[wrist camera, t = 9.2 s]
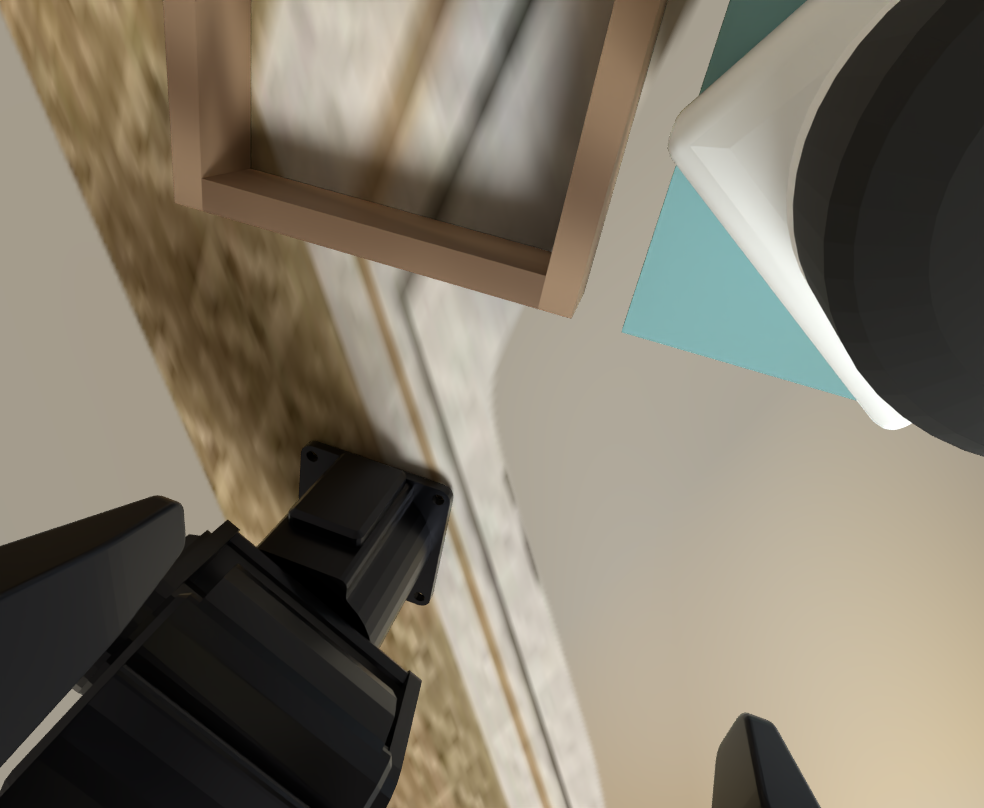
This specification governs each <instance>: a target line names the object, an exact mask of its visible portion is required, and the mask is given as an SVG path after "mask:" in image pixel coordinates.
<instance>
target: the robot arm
mask: <svg viewBox="0 0 984 808" xmlns="http://www.w3.org/2000/svg"><path fill="white" fill-rule="evenodd" d="M312 451H313V452H314V453H316V454H317V456H318V457H317V456H315V455H314V454H313V453H312ZM436 495H440V496H442V497H443V499H444V500H442V499H439V498H438V497H437V496H436ZM452 502H453V493H452V491H451V490H450V489H449V488H448V487H447V486H445V485H443V484H440V483H437V482H434V481H432V480H429V479H426V478H423V477H420V476H417V475H414V474H411V473H408V472H405V471H402V470H399V469H396V468H394V467H391V466H388V465H385V464H382V463H379V462H376V461H373V460H370V459H367V458H364V457H361V456H358V455H356V454H353V453H350V452H347V451H344V450H341V449H338V448H335V447H332V446H329V445H326V444H323V443H320V442H317V441H312V442H309V443H308V444H307V445H306V446H305V447H304V448H303V449H302V452H301V466H300V485H299V500H298V501H297V502H296V503H295V504H294V505H293V506H292V508H291V509H290V510H289V513H288V514H287V515H286V516H285V517H284V518H283V519H282V520H281V521H280V522H279V523H278V524H277V525H276V527H275V528H274V529H273V530H272V531H271V532H270V533H269V534H268V535H267V536H266V537H265V538H264V539H263V541H262V542H261V543H260V544H259V545H258V546H257V547H256V546H254V545H253V544H252V543H251V542H250V541H248V540H247V539H246V538H245V537H244V536H242V535H241V534H240V533H239V531H240V529H238V528H237V527H236V526H235V525H234V524H232V523H231V522H230V521H229V520H227V521H225V522H224V523H223V524H222V525H221V526H220V527H218V528H217V529H216V530H215V531H214V532H213V533H210V532H209V531H208V530H207V531H206V532H204V533H203V534H202V535H201V536H198V535H188V536H186V537H185V524H184V523H185V522H184V510H183V507H182V505H181V503H179V502H177V501H174V500H172V499H169V498H166V497H163V496H158V495H157V496H152V497H148V498H146V499H143V500H139V501H136V502H133V503H130V504H127V505H124V506H121V507H118V508H115V509H112V510H109V511H106V512H103V513H100V514H97V515H94V516H91V517H87V518H85V519H81V520H78V521H75V522H72V523H69V524H66V525H63V526H60V527H57V528H54V529H51V530H48V531H45V532H42V533H39V534H35V535H33V536H30V537H26V538H24V539H20V540H17V541H14V542H11V543H8V544H5V545H2V546H0V767H1V766H2V765H3V764H4V763H5V762H6V760H7V759H8V758H9V757H10V756H11V755H12V754H13V753H14V752H15V751H16V750H17V748H18V747H19V746H20V745H21V744H22V743H23V742H24V741H25V740H26V739H27V737H28V736H29V735H30V734H31V733H32V732H33V731H34V730H35V728H37V726H38V725H39V724H40V723H41V722H42V721H43V720H44V718H45V717H46V716H47V715H48V714H49V713H50V712H51V711H52V710H53V709H54V708H55V706H56V705H57V704H58V703H59V702H60V701H61V700H62V699H63V698H64V697H65V695H66V694H67V693H68V692H69V691H70V690H71V689H74V690H75V691H76V692H78V693H80V694H82V695H83V696H82V697H81V698H80V699H79V700H78V701H77V702H76V703H75V704H74V705H73V706H72V708H70V710H69V711H68V712H67V713H66V714H65V715H64V716H63V717H62V718H61V719H60V720H59V721H58V722H57V723H56V724H55V726H54V727H53V728H52V729H51V730H50V731H49V732H48V733H47V734H46V735H45V736H44V737H43V739H41V741H40V742H39V743H38V744H37V745H36V746H35V747H34V748H33V749H32V750H31V751H30V752H29V754H27V755H26V756H25V758H24V759H23V760H22V761H21V762H20V763H19V764H18V765H17V766H16V767H15V768H14V769H13V770H12V772H11V773H10V774H9V776H8V777H7V778H6V780H5V781H4V784H3V786H2V789H1V790H0V808H386V807H387V805H388V803H389V801H390V799H391V797H392V795H393V792H394V790H395V787H396V785H397V782H398V779H399V776H400V772H401V769H402V764H403V760H404V756H405V751H406V747H407V743H408V738H409V734H410V730H411V725H412V721H413V717H414V712H415V708H416V704H417V700H418V695H419V691H420V687H421V682H422V680H421V679H419V678H418V677H417V676H416V675H415V674H413V673H412V672H411V671H408V672H407V671H405V670H404V669H403V668H402V667H401V666H399V665H398V664H397V663H396V662H395V661H393V660H392V659H391V658H390V657H388V656H387V655H386V654H385V653H384V652H382V651H381V650H380V649H379V648H380V646H381V644H382V642H383V641H384V639H385V637H386V635H387V633H388V632H389V630H390V628H391V626H392V624H393V622H394V621H395V619H396V617H397V615H398V613H399V611H400V610H401V608H402V606H403V604H404V602H405V601H406V600H407V601H409V602H412V603H415V604H417V605H427V604H428V603H429V601H430V599H431V597H432V595H433V592H434V587H435V582H436V578H437V573H438V568H439V563H440V559H441V554H442V549H443V544H444V540H445V535H446V530H447V525H448V521H449V516H450V511H451V507H452ZM420 593H421V594H420ZM422 594H423V595H422ZM712 808H821V807H820V805H819V804H818V802H817V800H816V798H815V796H814V795H813V793H812V791H811V789H810V788H809V786H808V784H807V782H806V780H805V778H804V777H803V775H802V773H801V771H800V769H799V768H798V766H797V764H796V762H795V761H794V759H793V757H792V755H791V753H790V751H789V750H788V748H787V746H786V744H785V742H784V741H783V739H782V737H781V735H780V733H779V732H778V730H777V728H776V727H775V726H774V725H773V723H771V722H770V721H768V720H766V719H763V718H760V717H757V716H755V715H752V714H749V713H742V714H741V715H740V716H739V717H738V718H737V719H736V721H735V722H734V724H733V725H732V727H731V728H730V730H729V732H728V733H727V735H726V736H725V738H724V739H723V741H722V742H721V744H720V746H719V749H718V752H717V757H716V764H715V776H714V787H713V798H712Z"/></svg>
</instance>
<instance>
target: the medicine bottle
mask: <svg viewBox="0 0 984 808" xmlns="http://www.w3.org/2000/svg"><path fill="white" fill-rule="evenodd" d="M668 151H669V153H670V156H671V158H672V160H673V161H674V163H675V164H676V165H677V167H678V168H679V169H680V170H681V172H682V173H683V174H684V176H685V177H686V178H687V180H688V181H689V182H690V183H691V185H692V186H693V187H694V189H695V190H696V191H697V193H698V194H699V195H700V197H701V198H702V199H703V200H704V202H705V203H706V204H707V206H708V207H709V208H710V210H711V211H712V212H713V213H714V215H715V216H716V217H717V219H718V220H719V221H720V223H721V224H722V225H723V227H724V228H725V229H726V230H727V232H728V233H729V234H730V236H731V237H732V238H733V240H734V241H735V242H736V244H737V245H738V246H739V247H740V249H741V250H742V251H743V253H744V254H745V255H746V257H747V258H748V259H749V260H750V262H751V263H752V264H753V266H754V267H755V268H756V270H757V271H758V272H759V274H760V275H761V276H762V277H763V279H764V280H765V281H766V283H767V284H768V285H769V287H770V288H771V289H772V290H773V292H774V293H775V294H776V296H777V297H778V298H779V300H780V301H781V302H782V304H783V305H784V306H785V307H786V309H787V310H788V311H789V313H790V314H791V315H792V317H793V318H794V319H795V321H796V322H797V323H798V324H799V326H800V327H801V328H802V330H803V331H804V332H805V334H806V335H807V336H808V337H809V339H810V340H811V341H812V343H813V344H814V345H815V347H816V348H817V349H818V351H819V352H820V353H821V354H822V356H823V357H824V358H825V360H826V361H827V362H828V364H829V365H830V366H831V367H832V369H833V370H834V371H835V373H836V374H837V375H838V377H839V378H840V379H841V381H842V382H843V383H844V384H845V386H846V387H847V388H848V390H849V391H850V392H851V394H852V395H853V396H854V397H855V399H856V400H857V401H858V403H859V404H860V405H861V406H862V408H863V409H864V411H865V412H866V413H867V414H868V416H869V417H870V418H871V420H872V421H874V422H875V423H876V424H878V425H879V426H881V427H882V428H884V429H890V430H895V429H899V428H903V427H905V426H908V425H909V424H911V423H913V424H915V425H916V426H918V427H919V428H921V429H922V430H924V431H926V432H927V433H929V434H930V435H932V436H934V437H937V438H938V439H940V440H943V441H945V442H947V443H949V444H952V445H953V446H956V447H958V448H960V449H962V450H964V451H968V452H971V453H974V454H977V455H980V456H984V0H807V1H806V2H805V3H804V4H802V5H801V6H800V7H799V8H798V9H797V10H796V11H794V12H793V13H792V14H791V15H790V16H789V17H788V18H787V19H785V20H784V21H783V22H782V23H781V24H780V25H779V26H777V27H776V28H775V29H774V30H773V31H772V32H771V33H769V34H768V35H767V36H766V37H765V38H764V39H763V40H762V41H760V42H759V43H758V44H757V45H756V46H755V47H754V48H752V49H751V50H750V51H749V52H748V53H747V54H746V55H745V56H743V57H742V58H741V59H740V60H739V61H738V62H737V63H735V64H734V65H733V66H732V67H731V68H730V69H729V70H727V71H726V72H725V73H724V74H723V75H722V76H721V77H720V78H718V79H717V80H716V81H715V82H714V83H713V84H712V85H710V86H709V87H708V88H707V89H706V90H705V91H704V92H703V93H701V94H700V95H699V96H698V97H697V98H696V99H695V100H693V101H692V102H691V103H690V104H689V105H688V106H687V107H686V108H684V109H683V110H682V111H681V112H680V114H679V115H678V117H677V118H676V120H675V123H674V126H673V128H672V131H671V133H670V136H669V142H668Z"/></svg>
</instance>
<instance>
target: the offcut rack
mask: <svg viewBox="0 0 984 808" xmlns="http://www.w3.org/2000/svg"><path fill="white" fill-rule="evenodd" d="M666 4H667V0H615V1H614V5H613V9H612V13H611V17H610V21H609V25H608V29H607V33H606V37H605V41H604V45H603V49H602V53H601V57H600V61H599V65H598V69H597V73H596V77H595V81H594V85H593V90H592V94H591V98H590V102H589V106H588V110H587V114H586V118H585V122H584V126H583V130H582V134H581V138H580V142H579V146H578V150H577V154H576V158H575V162H574V166H573V170H572V174H571V178H570V182H569V186H568V190H567V194H566V198H565V202H564V206H563V210H562V214H561V218H560V222H559V226H558V230H557V234H556V238H555V242H554V246H553V250H552V252H550V251H546V250H543V249H539V248H535V247H532V246H528V245H525V244H521V243H517V242H514V241H510V240H507V239H503V238H499V237H496V236H492V235H489V234H485V233H481V232H478V231H474V230H471V229H467V228H463V227H460V226H456V225H452V224H449V223H445V222H442V221H438V220H434V219H431V218H427V217H424V216H420V215H416V214H413V213H409V212H406V211H402V210H398V209H395V208H391V207H388V206H384V205H380V204H377V203H373V202H370V201H366V200H362V199H359V198H355V197H351V196H348V195H344V194H341V193H337V192H333V191H330V190H326V189H323V188H319V187H315V186H312V185H308V184H305V183H301V182H297V181H294V180H290V179H287V178H283V177H279V176H276V175H272V174H269V173H265V172H261V171H258V170H254V169H251V0H163V10H164V27H165V44H166V61H167V78H168V95H169V113H170V130H171V147H172V164H173V181H174V199H175V203H176V204H180V205H183V206H187V207H190V208H194V209H197V210H200V211H204V212H207V213H211V214H214V215H218V216H221V217H224V218H228V219H231V220H235V221H238V222H242V223H245V224H248V225H252V226H255V227H259V228H262V229H266V230H269V231H272V232H276V233H279V234H283V235H286V236H290V237H293V238H296V239H300V240H303V241H307V242H310V243H314V244H317V245H320V246H324V247H327V248H331V249H334V250H337V251H341V252H344V253H348V254H351V255H355V256H358V257H361V258H365V259H368V260H372V261H375V262H379V263H382V264H385V265H389V266H392V267H396V268H399V269H403V270H406V271H409V272H413V273H416V274H420V275H423V276H427V277H430V278H433V279H437V280H440V281H444V282H447V283H451V284H454V285H457V286H461V287H464V288H468V289H471V290H475V291H478V292H481V293H485V294H488V295H492V296H495V297H499V298H502V299H505V300H509V301H512V302H516V303H519V304H523V305H526V306H529V307H533V308H537V309H540V310H543V311H546V312H550V313H554V314H557V315H560V316H564V317H567V318H572V316H573V314H574V312H575V310H576V308H577V306H578V304H579V302H580V300H581V298H582V296H583V294H584V291H585V288H586V284H587V281H588V277H589V274H590V270H591V267H592V263H593V260H594V256H595V253H596V249H597V246H598V242H599V239H600V235H601V232H602V228H603V225H604V221H605V217H606V214H607V211H608V207H609V204H610V200H611V197H612V193H613V190H614V186H615V183H616V179H617V175H618V172H619V169H620V165H621V162H622V158H623V154H624V151H625V148H626V144H627V141H628V137H629V134H630V130H631V127H632V123H633V120H634V116H635V113H636V109H637V106H638V102H639V99H640V95H641V92H642V88H643V85H644V81H645V78H646V74H647V70H648V67H649V63H650V60H651V56H652V53H653V49H654V46H655V42H656V39H657V35H658V32H659V28H660V25H661V21H662V18H663V14H664V11H665V7H666Z"/></svg>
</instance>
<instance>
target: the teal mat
mask: <svg viewBox="0 0 984 808" xmlns="http://www.w3.org/2000/svg"><path fill="white" fill-rule="evenodd" d="M806 1H807V0H730V2H729V5H728V8H727V11H726V14H725V17H724V20H723V23H722V26H721V29H720V32H719V36H718V39H717V42H716V45H715V48H714V51H713V54H712V57H711V60H710V63H709V66H708V70H707V72H706V75H705V78H704V81H703V85H702V87H701V91H700V94H701V93H703V92H704V91H705V90H706V89H707V88H708V87H709V86H710V85H712V84H713V83H714V82H715V81H716V80H717V79H718V78H720V77H721V76H722V75H723V74H724V73H725V72H726V71H727V70H729V69H730V68H731V67H732V66H733V65H734V64H735V63H737V62H738V61H739V60H740V59H741V58H742V57H743V56H745V55H746V54H747V53H748V52H749V51H750V50H751V49H752V48H754V47H755V46H756V45H757V44H758V43H759V42H760V41H762V40H763V39H764V38H765V37H766V36H767V35H768V34H769V33H771V32H772V31H773V30H774V29H775V28H776V27H777V26H779V25H780V24H781V23H782V22H783V21H784V20H785V19H787V18H788V17H789V16H790V15H791V14H792V13H793V12H794V11H796V10H797V9H798V8H799V7H800V6H801V5H802V4H804V3H805V2H806ZM700 94H699V95H700ZM622 332H623V333H627V334H630V335H633V336H637V337H640V338H643V339H647V340H651V341H654V342H657V343H661V344H664V345H668V346H671V347H674V348H678V349H681V350H685V351H688V352H691V353H695V354H698V355H702V356H705V357H709V358H712V359H716V360H719V361H723V362H726V363H730V364H733V365H736V366H740V367H743V368H746V369H750V370H754V371H757V372H760V373H764V374H767V375H770V376H774V377H777V378H781V379H784V380H788V381H791V382H794V383H798V384H801V385H805V386H808V387H812V388H815V389H818V390H822V391H825V392H829V393H832V394H836V395H839V396H842V397H846V398H849V399H853V400H856V399H855V397H854V396H853V395H852V394H851V392H850V391H849V390H848V388H847V387H846V386H845V384H844V383H843V382H842V381H841V379H840V378H839V377H838V375H837V374H836V373H835V371H834V370H833V369H832V367H831V366H830V365H829V364H828V362H827V361H826V360H825V358H824V357H823V356H822V354H821V353H820V352H819V351H818V349H817V348H816V347H815V345H814V344H813V343H812V341H811V340H810V339H809V337H808V336H807V335H806V334H805V332H804V331H803V330H802V328H801V327H800V326H799V324H798V323H797V322H796V321H795V319H794V318H793V317H792V315H791V314H790V313H789V311H788V310H787V309H786V307H785V306H784V305H783V304H782V302H781V301H780V300H779V298H778V297H777V296H776V294H775V293H774V292H773V290H772V289H771V288H770V287H769V285H768V284H767V283H766V281H765V280H764V279H763V277H762V276H761V275H760V274H759V272H758V271H757V270H756V268H755V267H754V266H753V264H752V263H751V262H750V260H749V259H748V258H747V257H746V255H745V254H744V253H743V251H742V250H741V249H740V247H739V246H738V245H737V244H736V242H735V241H734V240H733V238H732V237H731V236H730V234H729V233H728V232H727V230H726V229H725V228H724V227H723V225H722V224H721V223H720V221H719V220H718V219H717V217H716V216H715V215H714V213H713V212H712V211H711V210H710V208H709V207H708V206H707V204H706V203H705V202H704V200H703V199H702V198H701V197H700V195H699V194H698V193H697V191H696V190H695V189H694V187H693V186H692V185H691V183H690V182H689V181H688V180H687V178H686V177H685V176H684V174H683V173H682V172H681V170H680V169H679V168H678V167H677V165H676V167H675V170H674V173H673V176H672V179H671V182H670V185H669V188H668V191H667V194H666V197H665V200H664V203H663V207H662V209H661V212H660V216H659V219H658V222H657V225H656V228H655V231H654V234H653V237H652V240H651V243H650V246H649V249H648V252H647V255H646V258H645V261H644V264H643V267H642V270H641V273H640V277H639V280H638V283H637V286H636V289H635V292H634V295H633V298H632V301H631V304H630V307H629V310H628V313H627V316H626V319H625V322H624V325H623V329H622ZM856 401H857V400H856Z"/></svg>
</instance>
